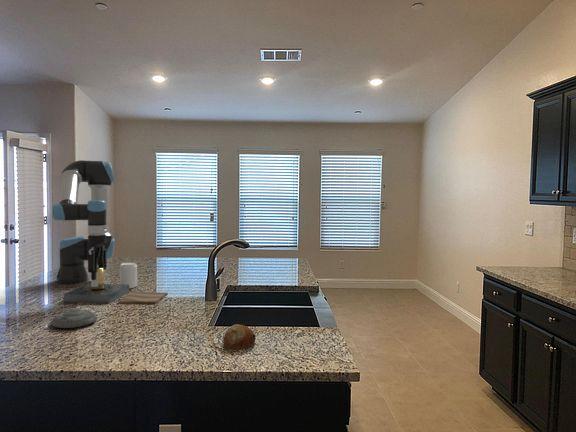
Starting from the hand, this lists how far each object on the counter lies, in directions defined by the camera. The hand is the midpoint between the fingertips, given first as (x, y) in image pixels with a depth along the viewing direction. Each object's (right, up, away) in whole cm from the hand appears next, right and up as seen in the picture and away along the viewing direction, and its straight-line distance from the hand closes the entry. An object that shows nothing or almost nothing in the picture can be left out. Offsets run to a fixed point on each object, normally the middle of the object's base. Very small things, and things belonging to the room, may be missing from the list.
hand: (97, 285), depth 181 cm
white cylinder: (+6, -5, +19) cm, 21 cm away
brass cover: (0, -5, 0) cm, 5 cm away
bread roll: (+71, -10, -54) cm, 90 cm away
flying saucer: (+9, -8, -37) cm, 39 cm away
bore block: (0, -5, 0) cm, 5 cm away
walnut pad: (+22, -6, -2) cm, 23 cm away
